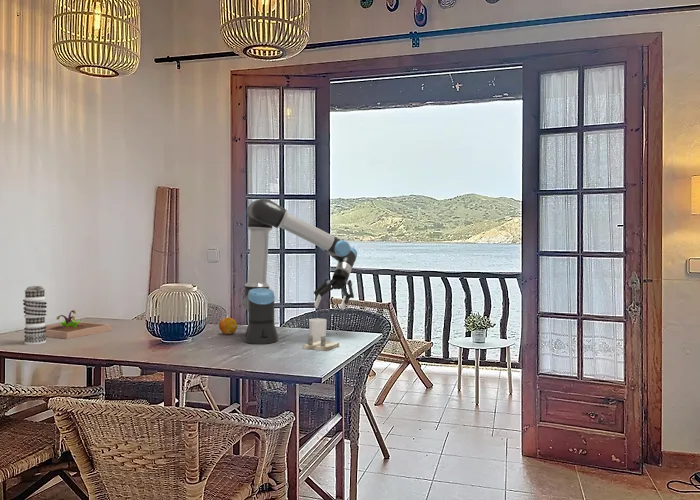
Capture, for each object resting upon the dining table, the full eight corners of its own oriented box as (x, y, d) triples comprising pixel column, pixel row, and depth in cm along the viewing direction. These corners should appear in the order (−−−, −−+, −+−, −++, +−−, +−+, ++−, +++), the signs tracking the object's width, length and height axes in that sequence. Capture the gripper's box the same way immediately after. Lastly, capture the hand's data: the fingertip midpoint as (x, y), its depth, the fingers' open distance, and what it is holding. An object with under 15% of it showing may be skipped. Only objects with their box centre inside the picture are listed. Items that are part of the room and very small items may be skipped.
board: (302, 348, 236) (302, 335, 236) (314, 344, 246) (314, 331, 246) (327, 350, 231) (327, 337, 231) (339, 346, 241) (339, 333, 241)
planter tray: (30, 334, 268) (30, 328, 268) (75, 327, 291) (75, 321, 291) (67, 338, 258) (67, 332, 258) (110, 330, 281) (110, 324, 281)
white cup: (324, 343, 247) (324, 321, 246) (306, 343, 248) (306, 320, 248) (328, 340, 254) (328, 318, 254) (311, 340, 256) (311, 318, 256)
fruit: (234, 335, 267) (234, 318, 267) (217, 335, 267) (216, 318, 267) (238, 332, 276) (238, 316, 275) (221, 332, 276) (221, 316, 276)
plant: (100, 332, 278) (100, 309, 277) (62, 338, 261) (62, 314, 261) (77, 328, 288) (77, 307, 288) (39, 334, 272) (39, 311, 272)
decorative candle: (20, 342, 248) (19, 286, 247) (43, 340, 255) (42, 285, 254) (27, 345, 242) (26, 287, 241) (50, 342, 249) (49, 286, 248)
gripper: (367, 279, 271) (355, 314, 258) (321, 277, 281) (307, 311, 268) (363, 268, 266) (350, 303, 253) (316, 267, 276) (302, 301, 263)
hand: (328, 307), depth 260 cm, fingers open, 13 cm apart
